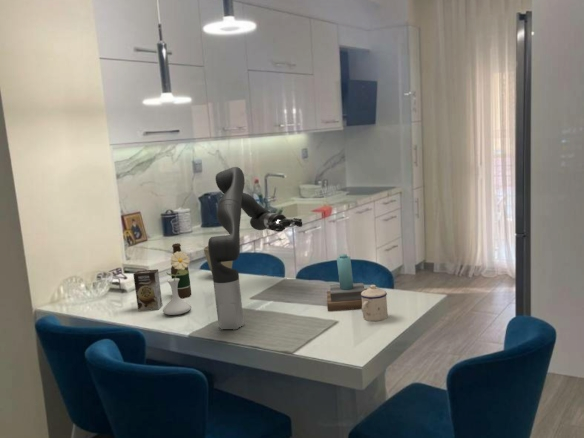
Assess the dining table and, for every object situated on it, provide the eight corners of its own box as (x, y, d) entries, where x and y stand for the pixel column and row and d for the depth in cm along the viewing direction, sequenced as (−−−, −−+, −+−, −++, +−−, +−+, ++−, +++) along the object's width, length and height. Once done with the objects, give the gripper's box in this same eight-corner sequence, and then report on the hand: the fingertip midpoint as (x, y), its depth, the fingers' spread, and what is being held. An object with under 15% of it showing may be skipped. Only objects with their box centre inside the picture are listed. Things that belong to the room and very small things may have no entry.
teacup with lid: (371, 311, 202) (368, 280, 200) (393, 315, 196) (391, 283, 194) (352, 322, 193) (350, 289, 191) (375, 325, 187) (372, 292, 185)
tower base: (370, 308, 206) (369, 292, 205) (327, 311, 207) (326, 295, 207) (367, 295, 222) (366, 281, 221) (327, 298, 223) (326, 284, 222)
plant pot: (218, 283, 265) (214, 250, 263) (201, 279, 276) (197, 248, 274) (243, 276, 275) (239, 244, 272) (226, 272, 286) (222, 242, 284)
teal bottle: (354, 288, 211) (350, 255, 209) (340, 290, 211) (336, 257, 210) (353, 285, 216) (349, 252, 215) (339, 287, 217) (335, 254, 215)
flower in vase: (163, 319, 217) (155, 257, 213) (162, 311, 228) (154, 252, 224) (197, 313, 220) (189, 252, 217) (194, 306, 231) (187, 247, 227)
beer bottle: (170, 298, 246) (163, 245, 243) (181, 293, 253) (175, 242, 250) (184, 299, 243) (177, 245, 239) (195, 294, 250) (188, 242, 246)
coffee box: (137, 311, 231) (132, 274, 229) (142, 307, 237) (137, 270, 235) (159, 309, 231) (154, 272, 228) (163, 305, 237) (158, 268, 235)
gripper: (259, 215, 236) (275, 219, 222) (289, 211, 242) (306, 214, 228) (261, 233, 237) (276, 237, 223) (290, 228, 243) (308, 232, 229)
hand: (291, 225), depth 225 cm, fingers open, 8 cm apart
